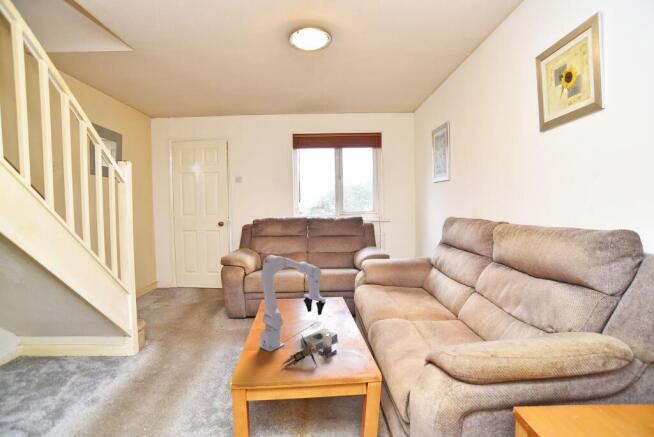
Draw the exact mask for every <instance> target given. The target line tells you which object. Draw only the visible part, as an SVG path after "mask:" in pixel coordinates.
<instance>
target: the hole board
mask: <svg viewBox="0 0 654 437" xmlns="http://www.w3.org/2000/svg"><path fill="white" fill-rule="evenodd" d="M325 333H330V334H331V338H332V343H334V342H336V341H338V333H336V332H333V331H330V330H326V329H324V328H322V329H320V330H318V331H315V332H312V333H311V334H309V335H307V336H305V337H304V336H303V338H304V339H305V341H306V343H307V344H308V346H309V347H311V346H313V345H312V343H313V344H314V345H315V346H316V351H315V349H314V350H313V351H314V352H318V350H320V349H322V348H323V334H325ZM300 346H302V347H304V348H305V347H306V346H305V344H304V342H303V339H302V338H300Z"/></svg>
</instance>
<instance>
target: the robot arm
mask: <svg viewBox="0 0 654 437" xmlns="http://www.w3.org/2000/svg"><path fill="white" fill-rule="evenodd" d="M287 266H288V267H291V268H295V269H297V270H296V271H297V272H298V273H301V274H304V275H307V276H308V293H304V294H303V302H304V303H303V304H305V307H306V309H307V310H306V311H307V313H311V312H312V310H313V308H312V307H313V306H312V305H313V301H317V302H315V305H316V310H317V316H321V315H322V314H323V309H324V307H325V305H326V302H327V301H326V298H325V297H323V296H321V294H320V280H321V276H322V273H323V272H322V270H321V268H320V267H319V266H315V265H314V264H312V263H311V264H310V263H308V262H307V261H305V260H303V261H299V262H298V261H296V260H293V259H291V258H288V257H285V256H279V255H274V254H269V255H267V256H266V257H265V258H264V260H263V266H262V270H261V282H262V291H263V297H264V304H265V306H264V307H265V309H264V310H263V317H262V322H263V324H264V325H265V329H263V331H261V333H260V337H259V338H260V340H259V341H260V345H259V348H261V349H263V350H265V351H268V352H273V351H274V350H277V349H279V348H281V347H283V346H285V342H284V343H283V342H281V341H282V337H281V334H282V333H281V332H282V331H281V330H282V326H283V324H284V319H283V317H282V314H281V312H280V310H279V308H278V305H277V304H278V303H277V296H276V289H275V283H274V276H275V275H276V274H277V273H278V272H280V271H281V270H282V269H284V268H286V267H287ZM281 343H282V344H281ZM279 344H280V345H279ZM276 346H277V347H276Z"/></svg>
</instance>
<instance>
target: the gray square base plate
mask: <svg viewBox="0 0 654 437" xmlns="http://www.w3.org/2000/svg"><path fill="white" fill-rule="evenodd" d="M317 352H318V353H317V354H318V355H321V356H323V357H326V358H330V357H333V355H335V354H337V352H338V349H336V348H334V347H332V350H331V351H330V352H325V351H323V348H321V349H319V350H317Z"/></svg>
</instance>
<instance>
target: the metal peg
mask: <svg viewBox="0 0 654 437" xmlns="http://www.w3.org/2000/svg"><path fill="white" fill-rule="evenodd" d="M332 345H333V342H332V338H331V334H330V333H325V334H323V351H325V352H330V351H331V350H332V348H333V346H332Z"/></svg>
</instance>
